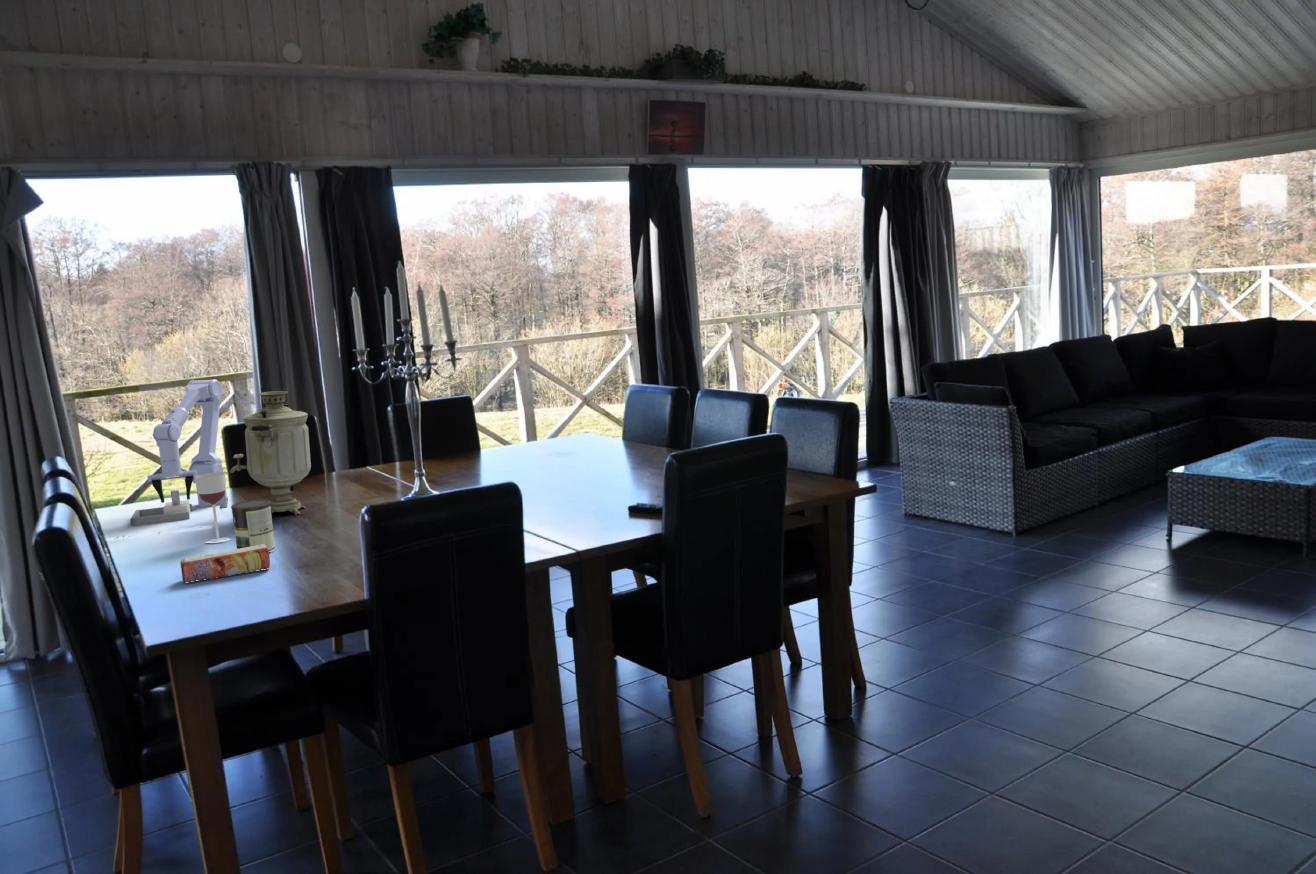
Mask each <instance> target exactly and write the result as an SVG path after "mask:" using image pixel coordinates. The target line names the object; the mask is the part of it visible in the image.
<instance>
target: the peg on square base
mask: <svg viewBox="0 0 1316 874" xmlns="http://www.w3.org/2000/svg"><path fill="white" fill-rule="evenodd" d="M179 491H180V490H178V489H173V490H170V497H171V502H166V503H165V504H164V506H163V507H164V508H163V509H164V514H170V513H178V512H186V511H189V516H190V515H191V511H190V504H191V503H190V499H189V500H187V499H186V500H182V501H181V498H180V492H179Z"/></svg>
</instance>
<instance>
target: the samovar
mask: <svg viewBox="0 0 1316 874" xmlns="http://www.w3.org/2000/svg"><path fill="white" fill-rule="evenodd" d="M288 393H289V391H285V390H277V391H276V390H275V391H264V392H260V393H258V395H259V396H260V397H261V398H262V399H261V400H262V403H263V404H264V406H265V407H262V408H261V409H259V410H258V412H254V413H249V414H246V415H244V416H242V420H243V423H244V424H245V426H246V428H245V430H244V438H245V448H246V450H245V451H246V465H242V464H241V458H243V457H244V456H245V455H244V454H243V453H236V454H234V455H233V459H237V463H236V464H235V465H234V466H233V467H231V469H230V471H229V473H231V474H232V473H235V471H237V472H241V471H242V470H245V469H246V471H247V472H248V475H249V476H250V477H251V478H252V479H253V481H256V482H257V484H259V485H261V486H264V487H267V488H269V489H270V494H271V495H273V496H274V497H275V499H272V500H270V508H271V515H272V514H273V513H275V512H277V513H280V512H282V513H283V512H286V511H289V512H291V513H294V516H298V515H297V514H300V513H301V511H299V509H302V508H301V507H304V509H306V507H305V506H304V505H302V504H301V502H300V501H299V500H297V499H296V497H292V496H291V495H292V493H293V492H295V490H294V486H295V485H296V484H298V483H300V482H301V481H303V479H304V478H305V477H307V476H308V475H309V473H310V471H311V467H312V463H311V451H310V447H311V446H310V436H309V426H308V425H307V424H306V422H307V419H308V414H309V413H307V412H305V411H301V410H299V411H298V410H293V409H292V408H290V407H289V404H288V403H285V402H286V395H287V394H288ZM300 515H301V514H300Z"/></svg>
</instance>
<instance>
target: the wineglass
mask: <svg viewBox="0 0 1316 874" xmlns="http://www.w3.org/2000/svg"><path fill="white" fill-rule="evenodd" d="M226 479H227V478H226V472H224V471H223V472H214V473H206V474H201V475H197V476H195V483H194V484H195V487H197V489H196V492H197V491H198V494H199V496H200V498H201V499H202V500H203V501H205V502H207V503H210V504H212V506H211V507H212V511H213V512H212V513H213V521H214V529H215V534H216V535H215V538H212V540H211V539H210V540H211V541H212V542H217V541H221V540H227V539H226V538H227V537H220V532H219V527H218V526H219V525H218V524H219V523H218V517H217V509H216V505H215V504H216V503H217V502H218V501H219V500H221V499H222V498H223V497H224V495H225V490H226V491H227V487H226V485H227V483H226ZM216 538H217V539H216ZM211 541H210V542H211Z"/></svg>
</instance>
